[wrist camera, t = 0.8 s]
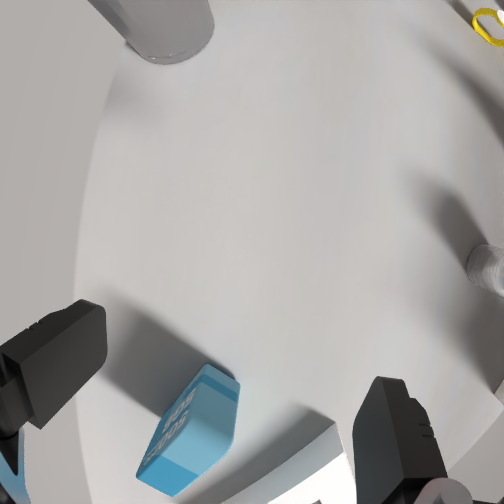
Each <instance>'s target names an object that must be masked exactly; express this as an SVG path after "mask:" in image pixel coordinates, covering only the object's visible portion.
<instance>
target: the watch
mask: <svg viewBox="0 0 504 504" xmlns="http://www.w3.org/2000/svg"><path fill="white" fill-rule="evenodd" d="M480 15H490V16H492V17H495V18H496V20H497V22H498V23H499V24H500V25H501V26H502V27H503V28H504V11H502V10H498V11H495V10H493V9H490V8H480V9H479V10H477V11H476V12H475V14H474V16H473V20H472V24H473V27H474V30H475V31H476V32H478V33H479V34H480V35H481V36H482V37H483V38H484V39H485V40H486V41H487V42H489V43H490V44H492V45H494V46H497V47H504V40H498V39H495V38H492V37H491V36H489V35H488V34H487V33H486V32H485V31H484V30H483V29H482V28H481V27H480V26H479V25H478V23H477V20H476V18H477V17H478V16H480Z"/></svg>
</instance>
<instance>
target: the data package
mask: <svg viewBox="0 0 504 504" xmlns="http://www.w3.org/2000/svg"><path fill="white" fill-rule="evenodd" d="M239 393H240V384H239V383H238V382H237V381H235V380H233V379H232V378H230V377H228V376H227V375H225V374H224V373H222V372H220V371H219V370H217V369H216V368H214V367H212V366H211V365H209V364H205V365H204V366H203V367H202V368H201V369H200V371H199V372H198V373H197V374H196V376H195V377H194V378H193V379H192V381H191V382H190V383H189V384H188V386H187V387H186V388H185V389H184V391H183V392H182V393H181V394H180V396H179V397H178V398H177V399H176V401H175V402H174V403H173V404H172V405H171V407H170V408H169V409H168V410H167V412H166V413H165V414H164V416H163V417H162V419H161V420H160V422H159V424H158V426H157V428H156V431H155V433H154V435H153V437H152V439H151V442H150V444H149V446H148V448H147V451H146V453H145V455H144V457H143V459H142V462H141V464H140V466H139V468H138V471H137V473H136V478H137V479H139V480H140V481H142V482H144V483H146V484H148V485H150V486H151V487H153V488H155V489H157V490H159V491H161V492H163V493H165V494H167V495H169V496H171V497H175V496H177V495H178V494H180V493H181V492H182V491H183V490H185V489H186V488H187V487H188V486H190V485H191V484H192V483H193V482H195V481H196V480H197V479H198V478H199V477H201V476H202V475H203V474H204V473H205V472H207V471H208V470H209V469H210V468H211V467H213V466H214V465H215V464H216V463H217V462H218V461H219V460H221V459H222V458H223V457H224V456H225V455H226V453H227V452H228V450H229V449H230V447H231V445H232V442H233V438H234V431H235V423H236V416H237V408H238V400H239Z"/></svg>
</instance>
